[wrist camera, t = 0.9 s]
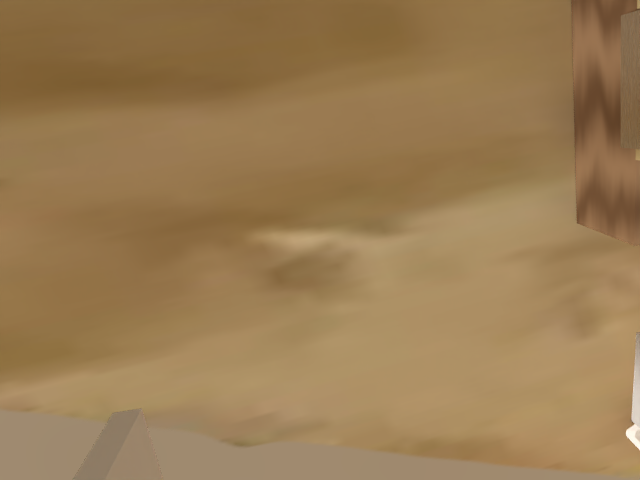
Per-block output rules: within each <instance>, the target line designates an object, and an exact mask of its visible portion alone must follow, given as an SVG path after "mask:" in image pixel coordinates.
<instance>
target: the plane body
mask: <svg viewBox="0 0 640 480" xmlns="http://www.w3.org/2000/svg"><path fill="white" fill-rule="evenodd" d="M637 10H640V0H572V39H573V80H574V122H575V163H576V204H577V223H578V224H581V225H583V226H586V227H588V228H591V229H593V230H596V231H598V232H601V233H603V234H606V235H608V236H611V237H614V238H616V239H619V240H621V241H624V242H626V243H629V244H631V245H634V246H637V245H640V149H632V148H622V147H621V15H624V14H628V13H631V12H634V11H637Z"/></svg>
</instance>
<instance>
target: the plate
mask: <svg viewBox="0 0 640 480" xmlns="http://www.w3.org/2000/svg"><path fill="white" fill-rule="evenodd" d="M626 436H627V437H628V438H629V439H630V440H631V441H632V442H633V443H634V444H635V446H636V447H637V448H638V449H639V450H640V428H639V427H638V426H637V425H636V424H635V423H633V424H632V425H631V426H629V427H628V429H627V431H626Z"/></svg>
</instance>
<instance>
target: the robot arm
mask: <svg viewBox="0 0 640 480" xmlns="http://www.w3.org/2000/svg"><path fill="white" fill-rule="evenodd" d="M632 421H633V422H634V423H635V424H636V425H637V426H638V427H639V428H640V332H637V333H636V351H635V368H634V385H633V403H632ZM73 480H163V477H162V473H161V470H160V467H159V464H158V460H157V457H156V454H155V450H154V447H153V444H152V440H151V437H150V434H149V431H148V427H147V424H146V421H145V418H144V414H143V411H142V409H135V410H129V411H122V412H115V413H113V414H112V415H111V417H110V419H109V420H108V422H107V424H106V425H105V427H104V429H103V430H102V432H101V433H100V435H99V437H98V439H97V440H96V442H95V444H94V445H93V447H92V449H91V450H90V452H89V453H88V455H87V457H86V458H85V460H84V462H83V463H82V465H81V467H80V468H79V470H78V472H77V473H76V475H75V477H74V478H73Z"/></svg>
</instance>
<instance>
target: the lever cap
mask: <svg viewBox="0 0 640 480" xmlns="http://www.w3.org/2000/svg"><path fill="white" fill-rule="evenodd" d="M621 147H622V148H632V149H640V10H637V11H634V12H631V13H628V14H624V15H621Z"/></svg>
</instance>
